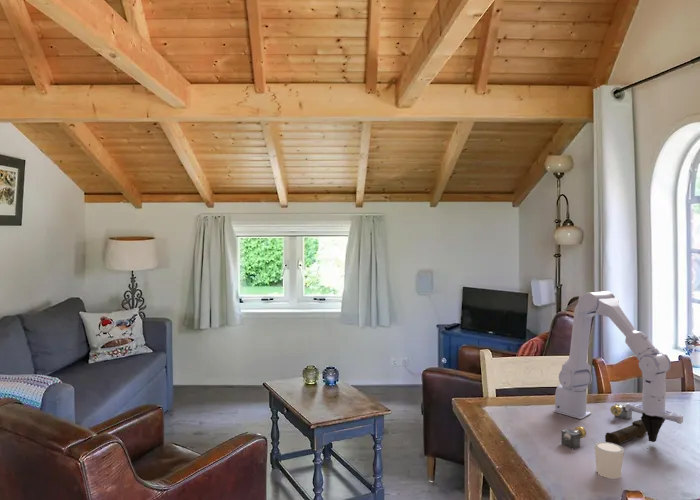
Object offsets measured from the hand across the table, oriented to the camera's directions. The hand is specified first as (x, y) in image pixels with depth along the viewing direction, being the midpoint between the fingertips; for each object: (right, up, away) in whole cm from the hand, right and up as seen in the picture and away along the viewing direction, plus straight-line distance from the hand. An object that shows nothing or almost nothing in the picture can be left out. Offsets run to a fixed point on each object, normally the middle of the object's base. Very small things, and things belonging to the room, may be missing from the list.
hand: (652, 440), depth 150 cm
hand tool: (-5, -2, +5) cm, 7 cm away
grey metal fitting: (-23, -1, +1) cm, 23 cm away
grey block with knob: (+2, 0, +22) cm, 22 cm away
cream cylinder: (-21, -2, -17) cm, 28 cm away
